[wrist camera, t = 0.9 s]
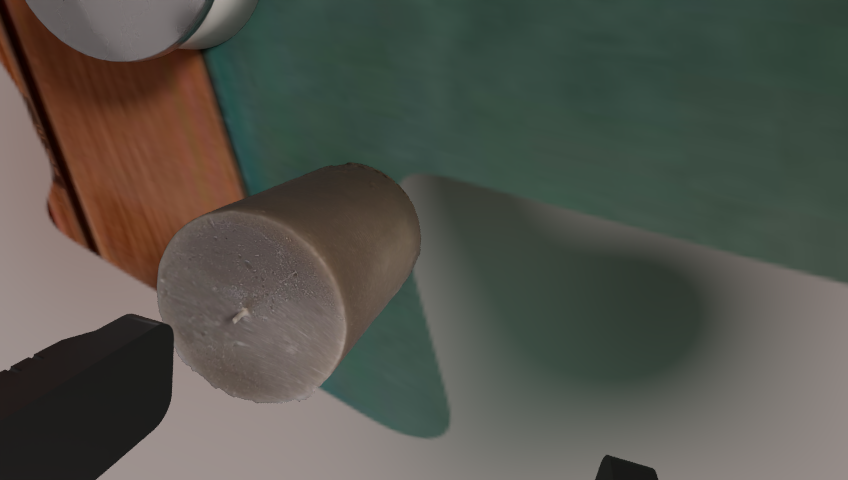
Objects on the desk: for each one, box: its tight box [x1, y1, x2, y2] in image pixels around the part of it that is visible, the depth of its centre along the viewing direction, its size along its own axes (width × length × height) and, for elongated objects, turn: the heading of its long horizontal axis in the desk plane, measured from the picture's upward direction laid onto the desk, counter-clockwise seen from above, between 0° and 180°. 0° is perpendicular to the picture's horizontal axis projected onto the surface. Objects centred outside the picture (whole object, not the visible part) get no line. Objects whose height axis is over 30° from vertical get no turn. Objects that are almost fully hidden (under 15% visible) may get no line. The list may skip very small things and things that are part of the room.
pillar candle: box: [157, 162, 421, 403], centre depth 31 cm, size 10×10×15 cm
